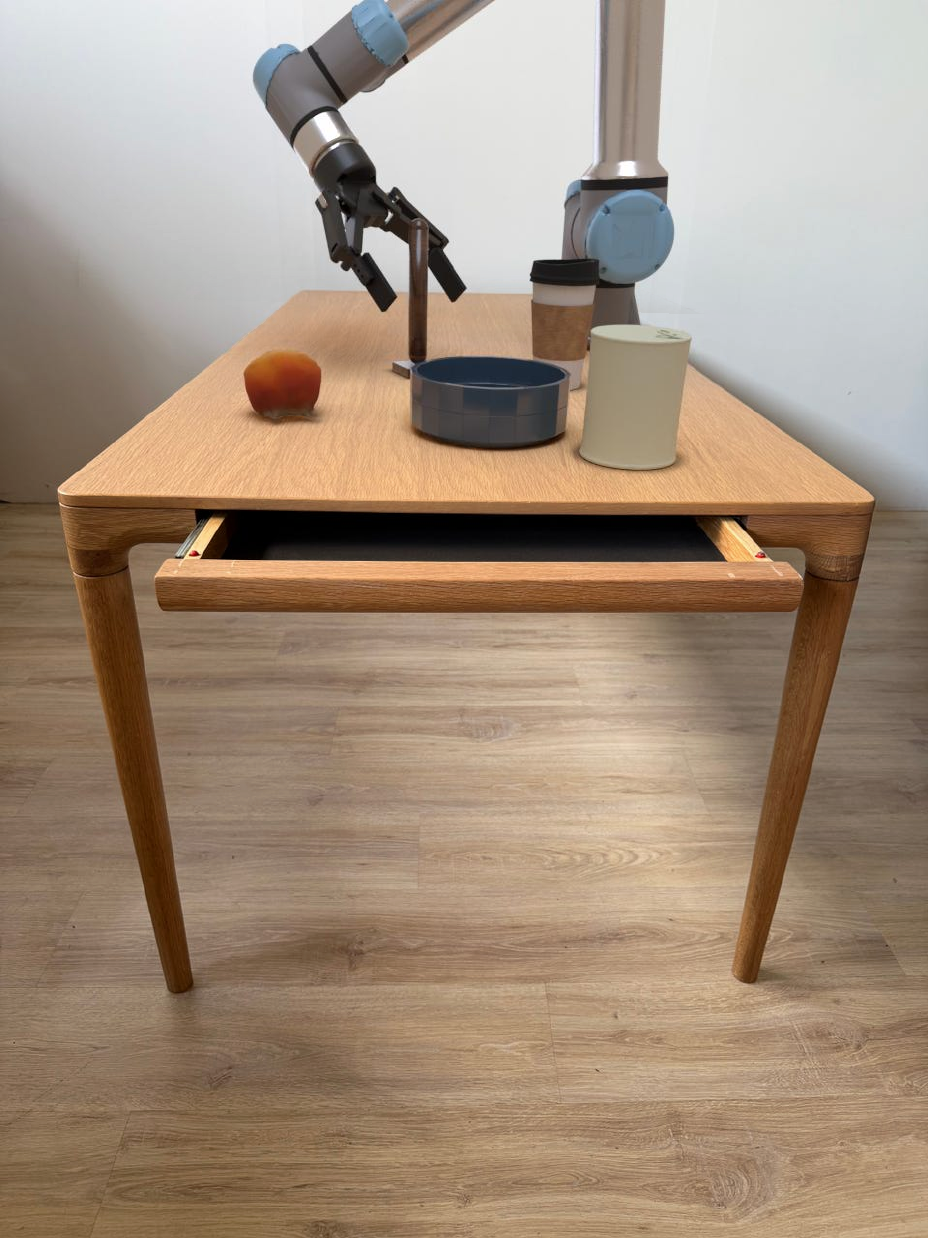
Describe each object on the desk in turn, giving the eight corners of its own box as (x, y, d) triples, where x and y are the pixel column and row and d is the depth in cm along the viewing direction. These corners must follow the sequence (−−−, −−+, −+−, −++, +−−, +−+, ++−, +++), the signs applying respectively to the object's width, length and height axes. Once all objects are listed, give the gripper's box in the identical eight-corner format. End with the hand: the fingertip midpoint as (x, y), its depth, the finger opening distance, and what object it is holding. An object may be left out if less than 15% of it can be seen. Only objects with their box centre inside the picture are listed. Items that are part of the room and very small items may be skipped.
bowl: (547, 410, 104) (551, 356, 101) (582, 450, 90) (588, 388, 87) (405, 410, 102) (405, 355, 99) (417, 451, 88) (418, 388, 85)
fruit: (264, 417, 91) (247, 339, 92) (248, 440, 99) (233, 368, 99) (340, 411, 95) (324, 335, 95) (320, 433, 102) (305, 363, 102)
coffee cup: (587, 395, 112) (599, 263, 105) (518, 389, 113) (525, 259, 106) (592, 381, 119) (604, 257, 112) (527, 376, 120) (535, 253, 114)
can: (654, 476, 83) (672, 339, 78) (562, 458, 87) (573, 327, 82) (689, 453, 90) (707, 326, 85) (602, 437, 94) (615, 315, 89)
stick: (426, 368, 123) (428, 217, 115) (443, 375, 119) (446, 219, 111) (392, 370, 121) (391, 216, 113) (407, 378, 117) (408, 219, 109)
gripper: (387, 185, 128) (468, 310, 127) (247, 184, 110) (340, 329, 109) (416, 142, 123) (502, 272, 121) (275, 134, 105) (373, 286, 104)
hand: (426, 299), depth 115 cm, fingers open, 13 cm apart
